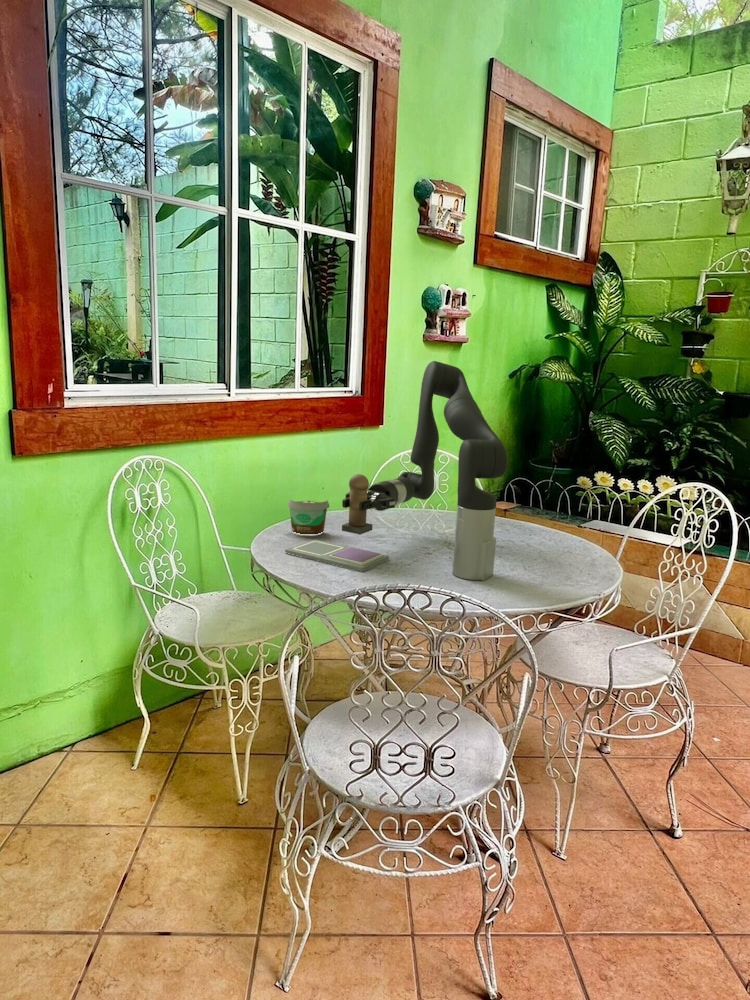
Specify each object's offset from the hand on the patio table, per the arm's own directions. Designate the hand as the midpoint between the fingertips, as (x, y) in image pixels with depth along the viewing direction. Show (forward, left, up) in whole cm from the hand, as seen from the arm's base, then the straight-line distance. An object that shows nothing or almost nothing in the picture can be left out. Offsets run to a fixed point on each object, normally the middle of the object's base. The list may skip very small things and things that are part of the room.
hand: (352, 505), depth 160 cm
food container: (+25, -15, -15) cm, 33 cm away
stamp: (0, -3, -7) cm, 8 cm away
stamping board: (+6, -3, -15) cm, 16 cm away
